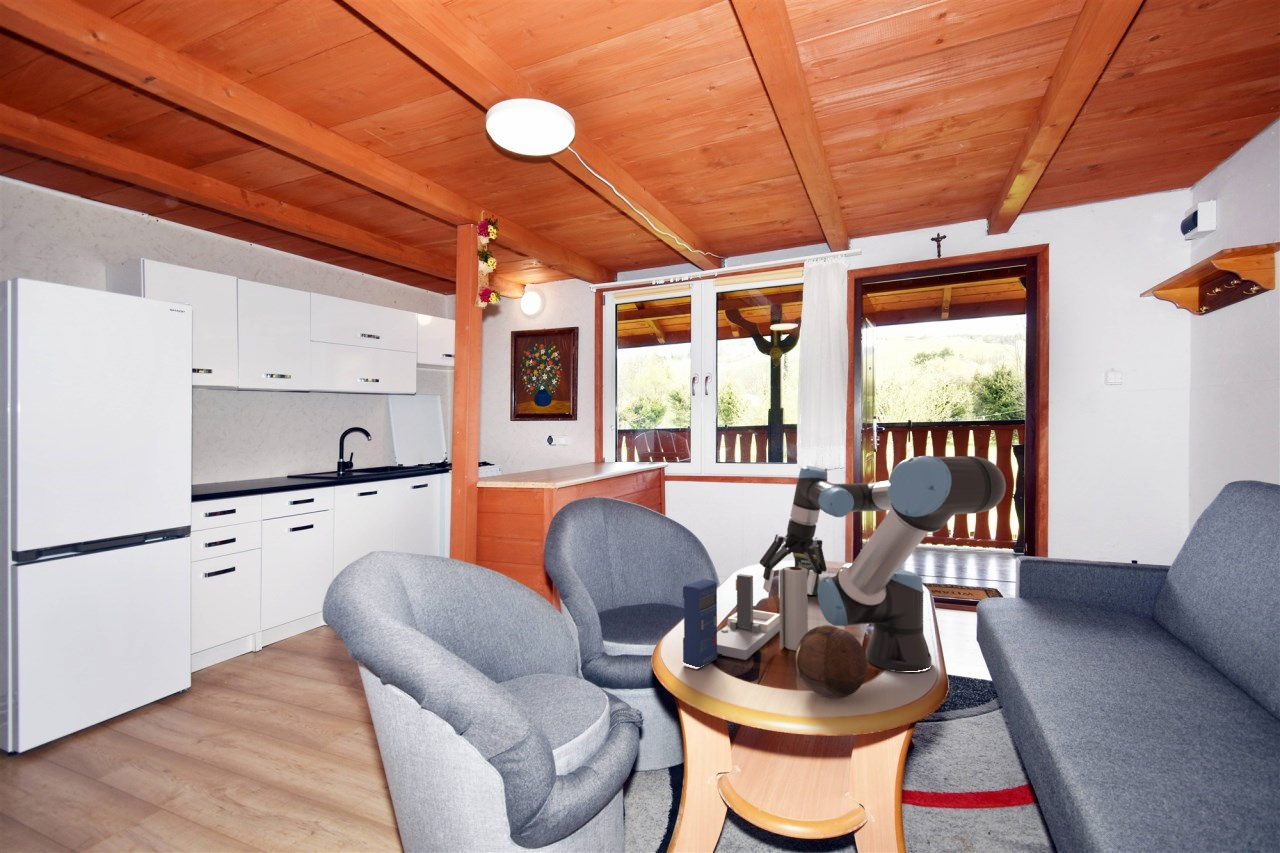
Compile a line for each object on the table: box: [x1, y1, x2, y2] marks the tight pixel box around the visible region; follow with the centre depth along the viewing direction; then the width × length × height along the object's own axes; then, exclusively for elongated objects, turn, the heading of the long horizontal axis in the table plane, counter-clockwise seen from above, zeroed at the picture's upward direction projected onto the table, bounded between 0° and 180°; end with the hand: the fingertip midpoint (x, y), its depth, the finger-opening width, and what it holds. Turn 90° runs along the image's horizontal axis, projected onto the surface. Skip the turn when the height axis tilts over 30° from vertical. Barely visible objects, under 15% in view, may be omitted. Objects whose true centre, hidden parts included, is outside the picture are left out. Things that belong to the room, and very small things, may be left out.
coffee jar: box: [792, 544, 821, 596], centre depth 217 cm, size 10×8×19 cm
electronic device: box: [682, 578, 718, 667], centre depth 150 cm, size 10×5×20 cm, turn 143°
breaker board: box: [717, 609, 780, 661], centre depth 167 cm, size 28×12×4 cm, turn 149°
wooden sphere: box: [795, 624, 868, 700], centre depth 131 cm, size 15×15×15 cm
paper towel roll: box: [778, 566, 809, 652], centre depth 161 cm, size 7×6×21 cm
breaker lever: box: [735, 573, 754, 630], centre depth 168 cm, size 2×5×15 cm, turn 59°
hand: (787, 591), depth 171 cm, fingers open, 13 cm apart
